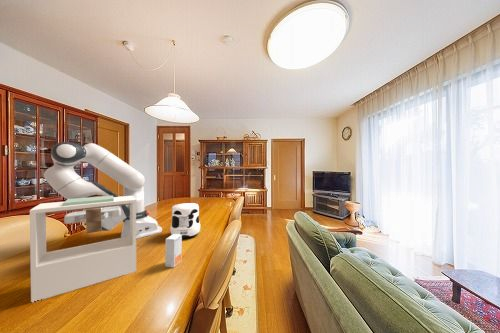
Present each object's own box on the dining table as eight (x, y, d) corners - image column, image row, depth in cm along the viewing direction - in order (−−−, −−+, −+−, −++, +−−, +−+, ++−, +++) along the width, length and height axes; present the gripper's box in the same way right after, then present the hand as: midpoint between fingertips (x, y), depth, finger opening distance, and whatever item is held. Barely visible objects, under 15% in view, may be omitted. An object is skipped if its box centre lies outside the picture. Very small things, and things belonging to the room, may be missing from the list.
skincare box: (174, 268, 78) (174, 239, 78) (165, 266, 79) (165, 238, 79) (182, 260, 84) (182, 234, 84) (173, 259, 85) (173, 233, 85)
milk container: (190, 228, 127) (190, 201, 127) (206, 234, 116) (205, 205, 116) (165, 235, 113) (164, 206, 113) (180, 243, 102) (180, 210, 102)
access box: (133, 259, 85) (132, 193, 85) (136, 271, 76) (135, 197, 75) (41, 283, 68) (40, 200, 68) (31, 302, 59) (29, 207, 58)
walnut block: (101, 227, 87) (101, 206, 86) (101, 230, 83) (100, 208, 82) (87, 230, 83) (86, 208, 83) (86, 233, 80) (85, 210, 79)
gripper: (66, 209, 87) (60, 215, 76) (119, 203, 99) (121, 208, 88) (66, 222, 87) (60, 231, 76) (120, 214, 99) (121, 221, 88)
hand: (93, 218), depth 82 cm, fingers closed on walnut block, 5 cm apart
